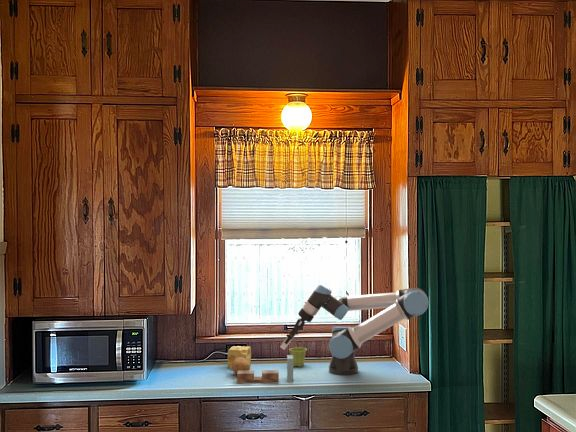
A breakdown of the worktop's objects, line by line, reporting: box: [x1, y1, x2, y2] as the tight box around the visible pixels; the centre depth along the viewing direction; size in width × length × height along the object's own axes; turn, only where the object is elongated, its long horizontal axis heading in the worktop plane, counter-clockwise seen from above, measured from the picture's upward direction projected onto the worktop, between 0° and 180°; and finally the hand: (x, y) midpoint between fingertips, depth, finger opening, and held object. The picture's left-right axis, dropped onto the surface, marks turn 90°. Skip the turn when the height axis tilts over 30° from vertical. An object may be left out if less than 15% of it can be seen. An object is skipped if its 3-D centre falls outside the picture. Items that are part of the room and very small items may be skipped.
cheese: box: [227, 345, 252, 369], centre depth 352 cm, size 10×11×10 cm
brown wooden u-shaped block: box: [236, 369, 280, 384], centre depth 321 cm, size 20×6×4 cm, turn 91°
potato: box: [231, 357, 251, 375], centre depth 335 cm, size 10×14×8 cm
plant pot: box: [288, 347, 308, 368], centre depth 353 cm, size 9×9×9 cm
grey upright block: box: [286, 354, 294, 382], centre depth 325 cm, size 8×3×11 cm, turn 1°
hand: (284, 345), depth 331 cm, fingers open, 13 cm apart
